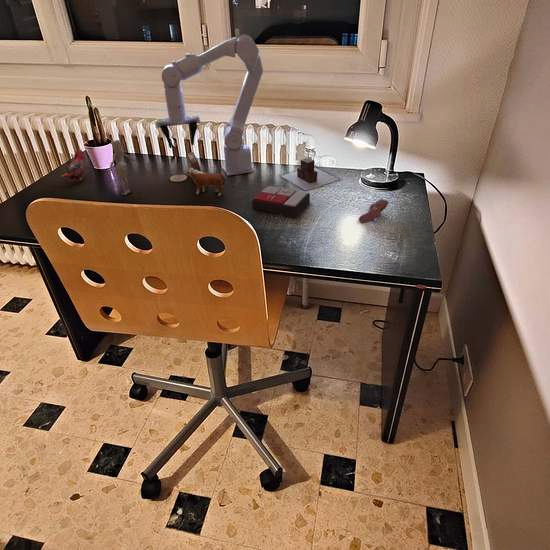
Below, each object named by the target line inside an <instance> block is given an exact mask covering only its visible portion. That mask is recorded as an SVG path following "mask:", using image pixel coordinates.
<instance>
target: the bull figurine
mask: <svg viewBox="0 0 550 550" xmlns="http://www.w3.org/2000/svg"><path fill="white" fill-rule="evenodd" d="M186 176H187V177H190V178H191V179H192V181H193V183H194V184H195V185H196V193H195V195H199V194H200V191H201V192H202V193H204V192H205V191H206V189H205V187H209V188H210V189H212V188H213V186H215V187H216V189H215V190H214V191H213V192H214V193H218V194H217V197H221V196H222V191H223V188H224V183H225V181H226V179H225V176H224V175H223V174H222V173H214V172H212V173H210V172H204V171H201V172H200V171H198V169H195V170H194V169H193V168H190V169H189V168H188V170H187V171H186ZM201 188H202V190H201Z"/></svg>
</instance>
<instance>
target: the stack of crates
mask: <svg viewBox="0 0 550 550" xmlns="http://www.w3.org/2000/svg"><path fill="white" fill-rule="evenodd" d="M315 164H316V162H315V160H314V159H312V158H310V157H306V158H301V159H300V166H298V167H297V168H296V170H295V171H292V172H288V173H285V174H282V175H280V177H282V178H283V179H285V180H287V181H288V182H290V183H292V184H294V185H295V186H297V187H299V188H301V189H302V190H304V191H309V190H312V189H315V188H318V187H321V186H325V185H328V184H330V183H333V182H337V181H340V179H339V178H338V177H335V176H333V175H332V174H330V173H327V172H325V171H323V170H321V169H319V168H317V167H315Z"/></svg>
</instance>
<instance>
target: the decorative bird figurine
mask: <svg viewBox="0 0 550 550" xmlns="http://www.w3.org/2000/svg"><path fill="white" fill-rule="evenodd" d="M85 168H86V163H85V154H84V152H83V150H82V149H81V148H78V149H76V151H75V152H74V157H73V159H72V161H71V163H70V165H69V167H68V169H67V171H66V173H64V174H62V175H60V176H59V178H60V179H61V178H69V179H70V180H74V179H75V180H77V182H76V184H78V183H80V182H82V181H83V179H84V178H85V176H83V175H84V173H85Z"/></svg>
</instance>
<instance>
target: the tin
mask: <svg viewBox="0 0 550 550" xmlns="http://www.w3.org/2000/svg"><path fill="white" fill-rule="evenodd" d="M185 157H186V161H187V167H188V170H189V169H190V168H193V169H194V170H195V169H198V171H200V172H202V169H201V166H200V163H199V160H198V158H197V156H196V155H195V152H194V151H191V152H186V153H185Z"/></svg>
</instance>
